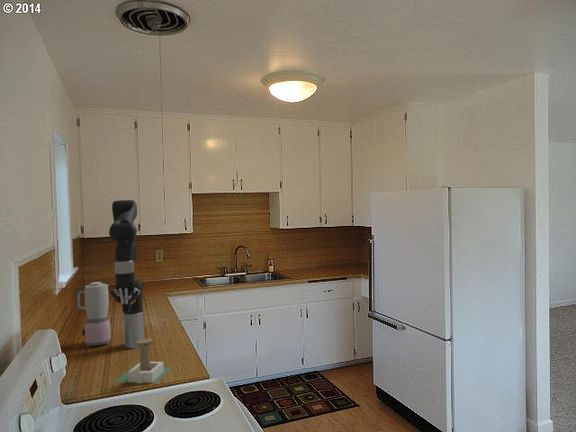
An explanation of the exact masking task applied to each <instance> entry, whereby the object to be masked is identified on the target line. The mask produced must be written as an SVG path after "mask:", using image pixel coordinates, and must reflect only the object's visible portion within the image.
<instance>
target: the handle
mask: <svg viewBox="0 0 576 432" xmlns="http://www.w3.org/2000/svg"><path fill="white" fill-rule="evenodd" d="M153 343H154V340H153V338H144V339H143V340H139V341H137V342H136V345H137V346H138V348H140V359H139V363H140V370H141V371H150V367H151V364H150V362H151V355H150V346H152V345H153Z"/></svg>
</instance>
